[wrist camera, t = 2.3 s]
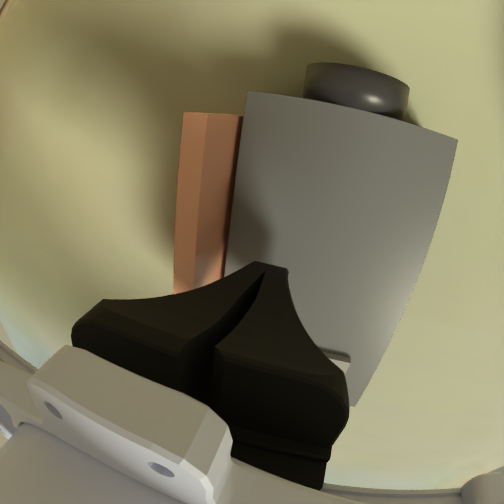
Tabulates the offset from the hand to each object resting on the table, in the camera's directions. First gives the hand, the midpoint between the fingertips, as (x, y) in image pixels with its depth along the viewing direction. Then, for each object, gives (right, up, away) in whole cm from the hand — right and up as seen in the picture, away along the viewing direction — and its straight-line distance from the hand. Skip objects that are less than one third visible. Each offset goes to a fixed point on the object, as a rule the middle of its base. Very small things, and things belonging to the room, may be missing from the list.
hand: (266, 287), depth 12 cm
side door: (-2, +3, +6) cm, 6 cm away
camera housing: (+3, +2, +5) cm, 6 cm away
